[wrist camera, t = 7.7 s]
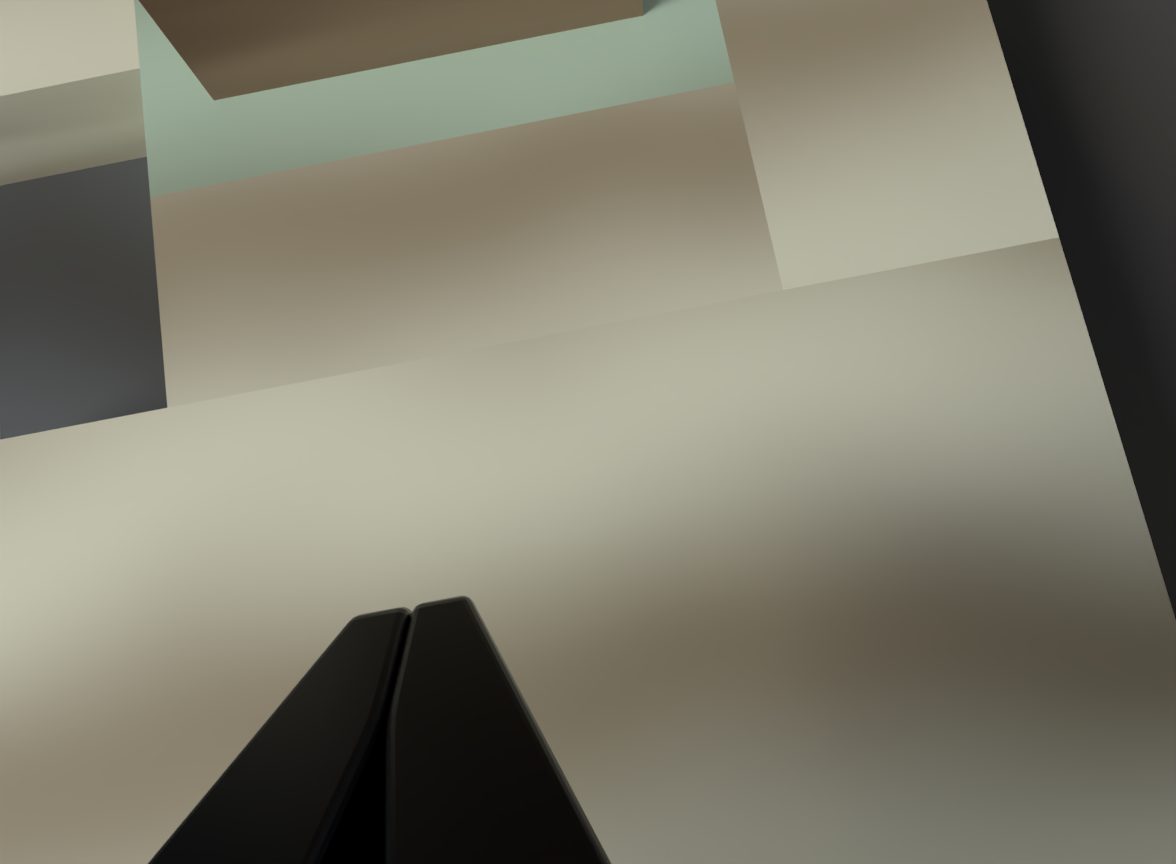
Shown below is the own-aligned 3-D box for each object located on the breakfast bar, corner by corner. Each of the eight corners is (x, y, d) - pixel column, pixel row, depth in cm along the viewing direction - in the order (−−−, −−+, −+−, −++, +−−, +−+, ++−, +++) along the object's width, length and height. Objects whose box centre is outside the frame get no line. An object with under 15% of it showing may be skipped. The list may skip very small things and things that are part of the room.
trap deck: (1214, 1049, 14) (1328, 1121, 12) (48, 1247, 14) (-79, 1355, 12) (819, -332, 19) (840, -480, 17) (-15, -159, 20) (-110, -280, 17)
